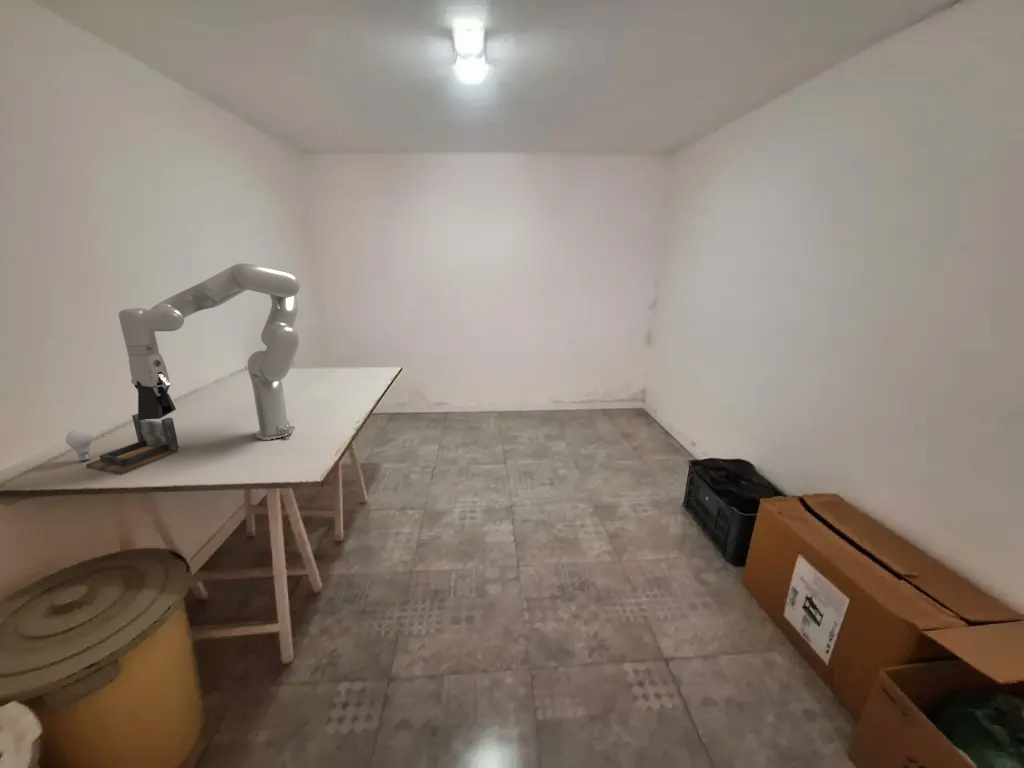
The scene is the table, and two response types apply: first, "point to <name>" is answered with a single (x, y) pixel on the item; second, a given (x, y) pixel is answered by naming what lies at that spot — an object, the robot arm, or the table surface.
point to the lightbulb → (80, 442)
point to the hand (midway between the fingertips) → (155, 405)
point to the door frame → (141, 447)
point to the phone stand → (151, 404)
